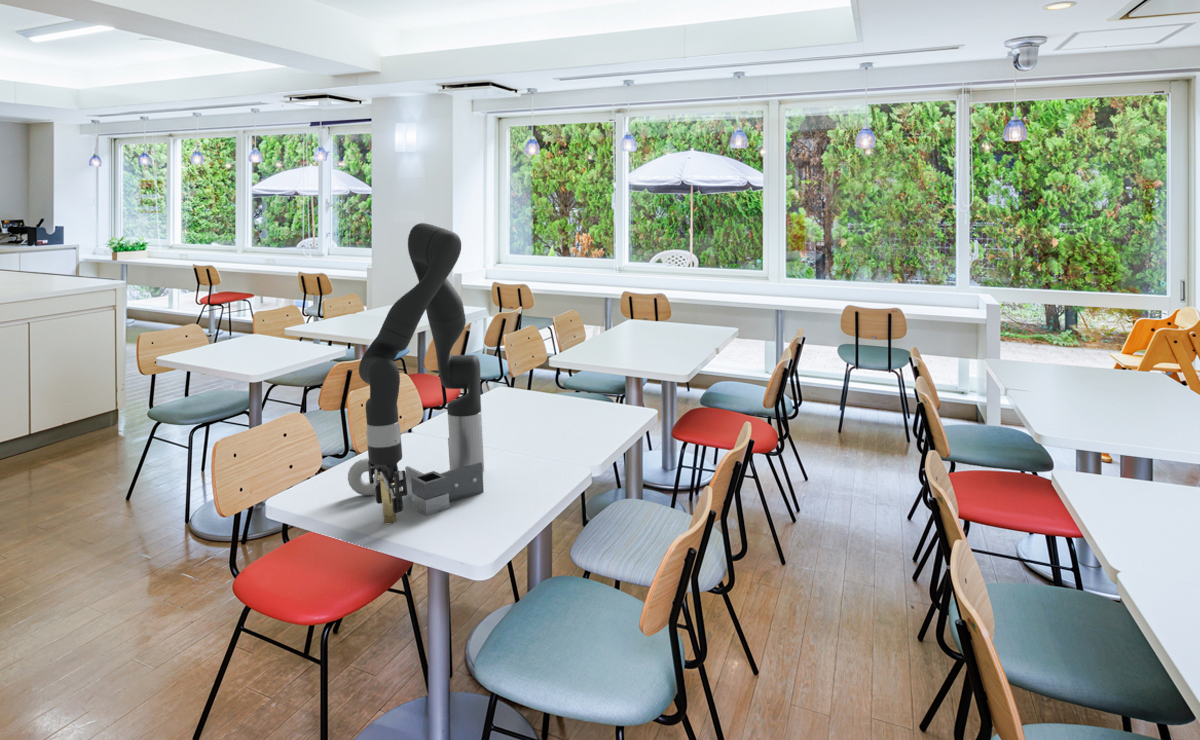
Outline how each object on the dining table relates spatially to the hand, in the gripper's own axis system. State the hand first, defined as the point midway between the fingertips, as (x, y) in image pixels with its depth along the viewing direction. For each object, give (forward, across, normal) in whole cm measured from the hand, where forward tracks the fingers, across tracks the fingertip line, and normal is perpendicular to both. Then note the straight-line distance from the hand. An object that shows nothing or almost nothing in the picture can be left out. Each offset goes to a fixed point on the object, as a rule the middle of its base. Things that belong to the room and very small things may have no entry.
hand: (389, 507), depth 169 cm
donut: (+4, +19, -4) cm, 20 cm away
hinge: (+3, +4, -17) cm, 18 cm away
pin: (+4, 0, 0) cm, 4 cm away
